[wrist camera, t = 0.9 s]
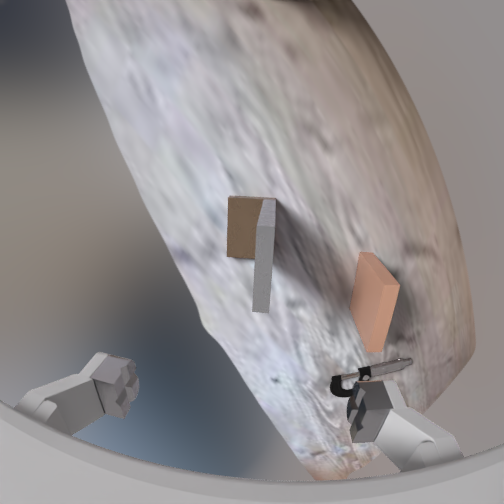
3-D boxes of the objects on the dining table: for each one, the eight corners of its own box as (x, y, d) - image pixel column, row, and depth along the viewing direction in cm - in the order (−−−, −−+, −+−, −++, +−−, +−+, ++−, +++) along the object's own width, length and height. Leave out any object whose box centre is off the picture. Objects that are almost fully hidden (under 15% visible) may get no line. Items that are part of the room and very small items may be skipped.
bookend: (229, 195, 40) (202, 222, 25) (275, 198, 39) (275, 226, 25) (228, 253, 42) (203, 307, 28) (272, 256, 42) (268, 312, 27)
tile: (359, 251, 41) (384, 284, 30) (373, 252, 41) (400, 285, 30) (349, 308, 44) (366, 352, 33) (362, 309, 44) (381, 351, 33)
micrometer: (330, 398, 50) (332, 408, 48) (328, 371, 48) (329, 381, 46) (406, 381, 48) (410, 389, 46) (409, 353, 46) (413, 361, 44)
